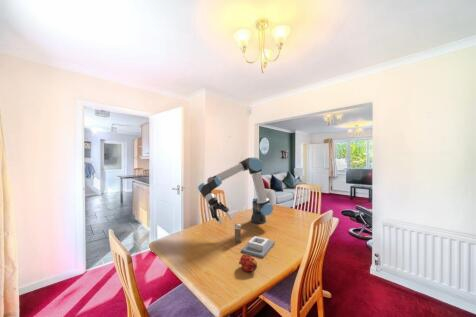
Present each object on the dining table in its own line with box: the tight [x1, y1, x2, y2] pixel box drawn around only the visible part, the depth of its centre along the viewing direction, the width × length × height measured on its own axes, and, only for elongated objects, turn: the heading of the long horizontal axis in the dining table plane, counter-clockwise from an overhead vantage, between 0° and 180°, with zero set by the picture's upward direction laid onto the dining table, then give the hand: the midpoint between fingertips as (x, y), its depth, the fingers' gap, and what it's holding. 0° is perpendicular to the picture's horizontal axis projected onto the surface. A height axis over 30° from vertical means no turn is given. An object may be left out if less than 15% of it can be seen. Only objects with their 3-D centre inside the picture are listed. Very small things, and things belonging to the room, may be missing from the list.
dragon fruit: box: [238, 253, 258, 273], centre depth 105 cm, size 8×8×12 cm
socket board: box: [240, 235, 276, 259], centre depth 130 cm, size 22×16×5 cm
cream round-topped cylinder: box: [234, 223, 242, 244], centre depth 138 cm, size 4×4×13 cm
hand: (226, 221), depth 143 cm, fingers open, 13 cm apart
